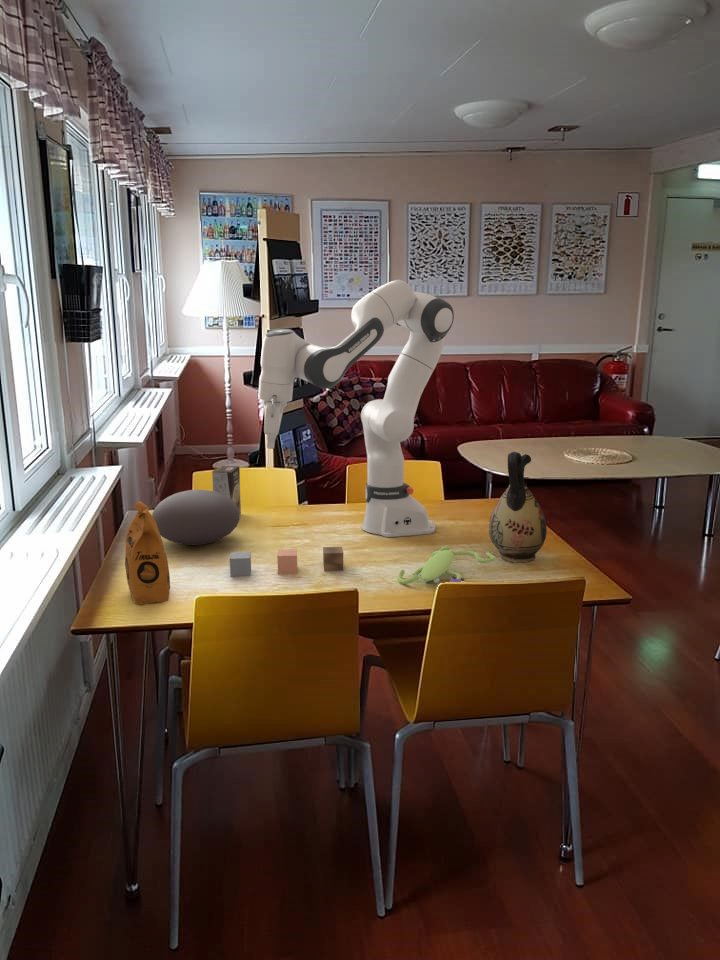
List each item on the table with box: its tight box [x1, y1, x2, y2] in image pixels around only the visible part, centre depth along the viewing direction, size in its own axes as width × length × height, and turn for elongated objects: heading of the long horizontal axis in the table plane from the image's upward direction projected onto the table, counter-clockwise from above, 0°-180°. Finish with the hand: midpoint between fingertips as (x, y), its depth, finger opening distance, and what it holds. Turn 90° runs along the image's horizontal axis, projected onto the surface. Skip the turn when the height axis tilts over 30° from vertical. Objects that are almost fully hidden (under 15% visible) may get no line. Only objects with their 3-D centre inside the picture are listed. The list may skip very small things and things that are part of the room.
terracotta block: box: [276, 548, 298, 575], centre depth 198 cm, size 5×5×5 cm
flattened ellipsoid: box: [151, 489, 241, 546], centre depth 219 cm, size 25×25×15 cm
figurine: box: [397, 545, 496, 585], centre depth 195 cm, size 18×26×6 cm
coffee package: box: [124, 501, 171, 605], centre depth 179 cm, size 10×12×22 cm
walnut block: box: [322, 546, 344, 572], centre depth 200 cm, size 5×5×5 cm
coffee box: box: [211, 465, 242, 515], centre depth 243 cm, size 9×6×16 cm
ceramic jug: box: [488, 451, 548, 563], centre depth 204 cm, size 17×15×30 cm
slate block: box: [229, 551, 252, 578], centre depth 196 cm, size 5×5×5 cm
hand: (271, 443), depth 202 cm, fingers open, 8 cm apart
